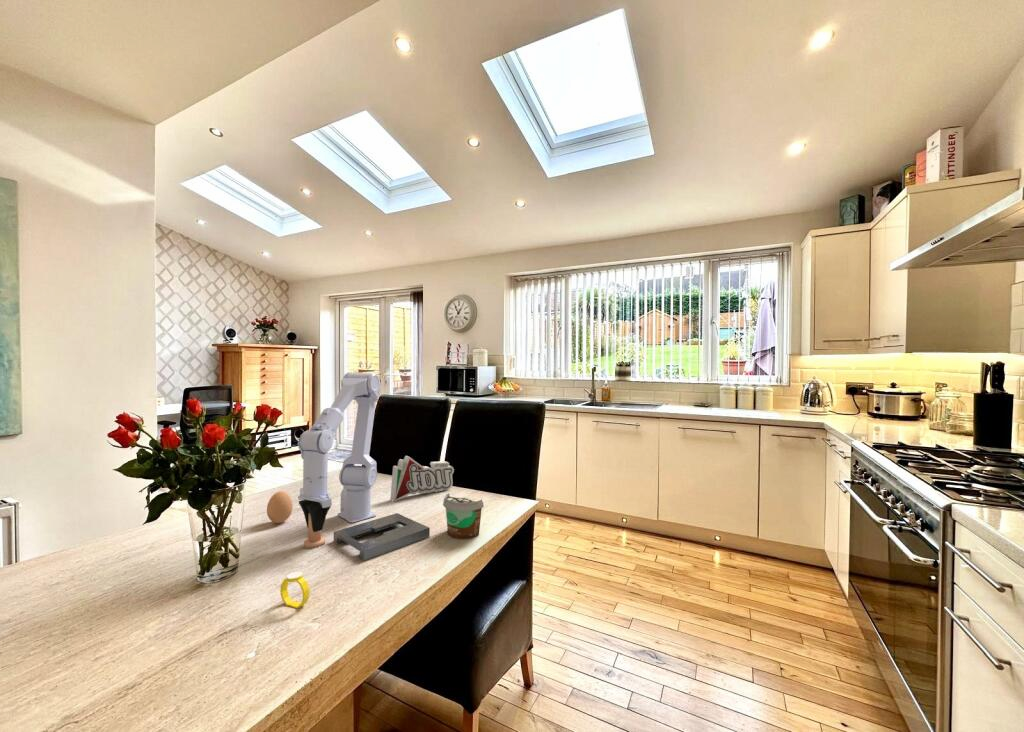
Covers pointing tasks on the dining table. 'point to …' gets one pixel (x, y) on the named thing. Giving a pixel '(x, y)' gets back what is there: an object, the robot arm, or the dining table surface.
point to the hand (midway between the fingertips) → (314, 528)
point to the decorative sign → (419, 478)
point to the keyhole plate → (389, 540)
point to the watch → (304, 586)
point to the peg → (313, 537)
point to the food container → (462, 517)
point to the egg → (279, 507)
